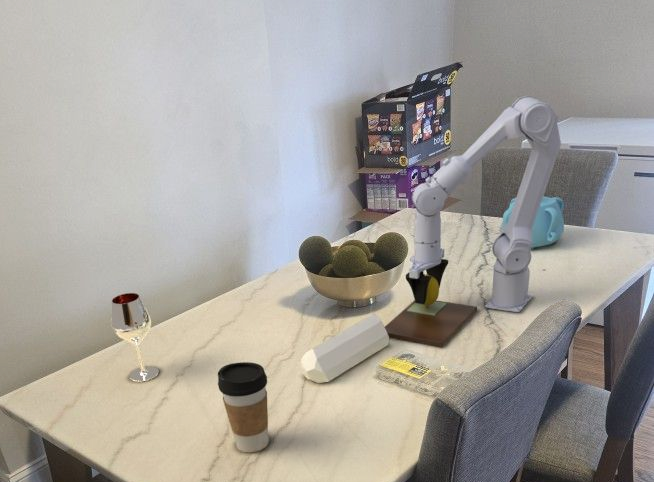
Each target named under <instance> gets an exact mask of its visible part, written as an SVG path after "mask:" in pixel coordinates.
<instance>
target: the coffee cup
mask: <svg viewBox="0 0 654 482" xmlns="http://www.w3.org/2000/svg"><path fill="white" fill-rule="evenodd" d="M267 385H268V376H267V374H266V372H265V369H264V367H263V366H262V365H261V364H259V363H256V362H248V361H243V362H233V363H229V364H226V365H224V366H221V368H219V370H218V372H217V386H218V390H219V391H220V393H222V402H223V405H224V408H225V411H226V415H227V418H228V422H229V424H230V429H231V431H232V435H233V438H234V442H235V446H236V448H237V449H238V450H239V451H240V452H244V453H257V452H260V451H262V450H263V449H266V447H267V446H268V444H269V442H270V441H269V439H270V437H269V414H268V391H267V388H266V386H267Z"/></svg>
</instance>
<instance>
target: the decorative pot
mask: <svg viewBox="0 0 654 482" xmlns="http://www.w3.org/2000/svg"><path fill="white" fill-rule="evenodd" d="M515 200H516V197H514V198H512V199H511V200H510V202H509V207H508V209H506V210H505V211H504V213H503V215H502V222H501V227H500V232H501V231H502V228H503V227H504V226H505V225H506V224H507V223H508V222H509V219H510V216H511V213H512V210H513V206H514V203H515ZM564 204H565V203H564V201H563V199H561V197H557V196H553V197H548V196H545V195H544V196H543V198H542V201H541V204H540V207H539V210H538V213H537V216H536V218H535V221H534V224H533V227H532V240H533V243H532V246H531V251H532V250H534V248H537V247H543V246H551V245H553V244H554V243H555V242H557V241H559V239H560V238H561V237H562V236H563V234H564V231H565V223H564V222H565V221H564V216H563V210H564V206H565V205H564Z"/></svg>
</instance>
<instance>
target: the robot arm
mask: <svg viewBox="0 0 654 482" xmlns="http://www.w3.org/2000/svg"><path fill="white" fill-rule="evenodd" d="M558 119H559V116H558V114H557V113H556V111H555V110H554V109H553V108H552V107H551V105H550V104H549V103H547V102H545V101H541V100H539V99H537V98H536V97H534V96H531V95H524V96H521V97H519V98H517V99H516V100H515V101H514V102H513V103H512V105H511V106H508V107H506V108H505V109H504V110H503V111H502V112H501V113H500V115H499V116H498V117H497V119H495V120H494V122H492V124H491V125H490V126H488V128H487V129H486V130H485V131H484V132H483V133H482V134H481V135H480V136H479V137H478V138H477V139H476V141H474V142H473V143H472V144H471V146H470V147H469V148H468V149H467V150H466V151H464V152H463V154H462V155H452V156H451V158H445V159H444V160H443V161H442V164H443V165H442V166H441V167H440V168H439V169H437V171H436V172H434V173H433V174H432V176H427V178H425V182H424V183H423V182H422V183H420V184H418V185H417V186H416V187H415V189H414V191H413V194H412V196H411V201H412V203H413V205H414V206H415V207H414V221H413V222H414V223H413V224H414V225H413V226H414V227H413V228H414V231H413V233H414V237H413V238H414V239H413V240H414V241H413V242H414V255H412V256H411V257H410V258H409V262H411V263H412V264H411V267H410V269H409V271H408V272H407V273H406V274H405V280H406V281H407V284H408V286H409V287H410V289H411V292H412V296H413V299H414V301H415V302H416V303H418V304H424V303H425V301H426V295H427V288H428V284H429V282H430V279H431V278H432V277H434V278H435V279H436V280H437V282H438V285H439V289H440V287H441V283H442V279H443V276H444V273H445V270H446V268H447V267H448V265H449V259H446V258H444V257H445V248H443V247H442V248H441V243H442V242H441V241H442V238H441V237H442V236H441V235H442V218H441V211H442V209H443V208H444V206H445V202H446V200H447V199H448V198H450V197H451V196H452V195H453V194H454V193H456V192H457V190H458V189H459V188H461V187H462V185H464V184H465V183H466V182H467V181H468V180H469V179H470V178H471V177H472V172H473V168H474V167H475V166H476V165H477V164H479V163H480V162H481V161H482V160H483V159H484V158H485V157H487V156H488V155H489V154H490V153H491V152H493V151H494V150H495V149H496V148H497V147H499V145H501V144H502V143H503V142H504V141H508V140H516V139H521V138H522V139H523V135H524V137H525V138H526V141H527V142H528V144H529V145H530V147H531V151H530V154H529V157H528V160H527V164H526V167H525V170H524V172H523V176H522V178H521V179H522V180H521V183H520V186H519V188H518V190H517V195H516V197H515V198H516V200H515V203H514V206H513V210H512V213H511V216H510V219H509V222H508V223H507V224H506V225H505V226H504V227H503V228H502V231H501V230H500V233H499V235H498V236H497V237H496V238H495V240H494V241H493V243H492V248H491V249H492V255H494V257H495V258H496V259H495V262H494V264H493V270H492V271H493V272H492V273H493V274H492V289H491V290H492V291H491V299H490V300H489V301H488V302H487V303H486V304H485V306H484V307H485V308H487V309H491V310H498V311H504V312H505V311H506V312H512V313H520V312H521V311H522V310H523V308H524V307H526V305H527V304H528V303H529V301H530V300H531V299H532V298H533V295H531V294H529V288H530V287H529V286H530V277H531V276H530V274H531V272H530V267H529V265H530V264H531V261H532V252H531V251H532V250H531V246H532V243H533V240H532V227H533V224H534V221H535V218H536V216H537V213H538V210H539V207H540V204H541V201H542V198H543V196H544V197H545V193H546V190H547V188H548V184H549V181H550V178H551V176H552V172H553V171H554V170H553V169H554V167H555V164H556V161H557V159H558V155H559V153H560V149H561V146H562V141H561V135H560V130H559V125H558ZM522 134H523V135H522ZM425 271H426V273H425ZM426 274H428V275H430V276H425V275H426Z"/></svg>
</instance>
